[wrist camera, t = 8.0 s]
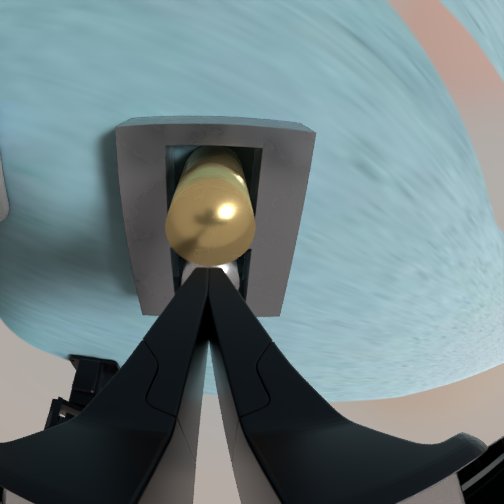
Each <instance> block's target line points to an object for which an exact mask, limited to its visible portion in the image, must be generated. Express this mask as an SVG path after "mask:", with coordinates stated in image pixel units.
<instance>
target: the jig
mask: <svg viewBox="0 0 504 504" xmlns="http://www.w3.org/2000/svg"><path fill="white" fill-rule="evenodd" d="M115 129H116V150H117V164H118V176H119V186H120V195H121V203H122V211H123V218H124V225H125V232H126V238H127V244H128V250H129V255H130V261H131V266H132V271H133V276H134V280H135V285H136V290H137V294H138V298H139V302H140V307H141V311H142V315H153V316H160V314H161V313H162V312H163V310H164V309H165V308H166V306H167V305H168V303H169V302H170V301H171V299H172V298H173V297H174V295H175V294H176V293H177V291H178V290H179V289H180V287H181V286H182V278H180V275H179V262H178V254H177V253H176V252H175V250H174V249H173V248H172V247H171V245H170V243H169V241H168V239H167V236H166V231H165V222H166V217H167V214H168V211H169V208H170V205H171V202H172V199H173V196H174V194H175V176H174V145H214V146H239V147H255V149H254V159H253V169H252V179H251V190H250V201H251V205H252V210H253V214H254V218H255V224H256V231H255V236H254V239H253V241H252V243H251V245H250V247H249V248H248V249H247V251H246V252H245V253H244V263H243V274H242V279H239V288H238V292H239V293H240V295H241V296H242V298H243V299H244V300H245V302H246V303H247V305H248V306H249V308H250V309H251V311H252V312H253V313H254V315H255V316H256V317H273V316H280V313H281V308H282V304H283V300H284V295H285V291H286V287H287V282H288V278H289V273H290V269H291V264H292V259H293V255H294V250H295V245H296V240H297V235H298V230H299V225H300V220H301V215H302V210H303V205H304V200H305V194H306V189H307V184H308V178H309V172H310V167H311V161H312V155H313V149H314V143H315V137H316V132H314V131H313V130H311V129H310V128H308V127H306V126H305V125H303V124H301V123H296V122H287V121H278V120H268V119H257V118H243V117H223V116H160V117H140V118H132V119H130V120H128V121H126V122H124V123H122V124H120V125H118V126H116V127H115Z"/></svg>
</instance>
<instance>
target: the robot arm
mask: <svg viewBox="0 0 504 504" xmlns="http://www.w3.org/2000/svg"><path fill="white" fill-rule="evenodd" d="M208 344H210V350H211V357H212V363H213V369H214V375H215V381H216V387H217V393H218V398H219V404H220V409H221V414H222V420H223V425H224V430H225V435H226V439H227V444H228V449H229V453H230V458H231V462H232V467H233V471H234V476H235V480H236V484H237V488H238V492H239V496H240V500H241V504H504V436H502V437H501V438H500V439H498V440H497V441H495V442H494V443H492V444H490V445H489V446H486V444H485V443H484V442H482V441H481V440H480V439H478V438H476V437H474V436H471V435H469V434H466V433H463V432H462V433H459V434H457V435H455V436H453V437H451V438H449V439H448V440H446V441H444V442H441V443H438V444H420V443H415V442H411V441H408V440H404V439H401V438H398V437H395V436H391V435H388V434H385V433H382V432H379V431H376V430H373V429H370V428H367V427H365V426H362V425H359V424H356V423H354V422H352V421H350V420H348V419H347V418H345V417H344V416H342V415H341V414H340V413H338V412H337V411H336V410H335V409H334V408H333V407H332V406H331V405H330V404H329V403H328V402H327V401H326V400H325V399H324V398H323V397H322V396H321V395H320V394H319V393H318V392H317V391H316V390H315V389H314V388H313V387H312V386H311V385H310V384H309V383H308V382H307V381H306V380H305V379H304V378H303V377H302V376H301V375H300V374H299V373H298V372H297V370H296V369H295V368H294V367H293V366H292V365H291V364H290V363H289V361H288V360H287V359H286V357H285V356H284V355H283V354H282V352H281V351H280V350H279V348H278V347H277V345H276V344H275V343H274V342H272V339H271V337H270V336H269V335H268V333H267V332H266V330H265V329H264V328H263V326H262V325H261V323H260V322H259V320H258V319H257V318H256V316H255V315H254V313H253V312H252V311H251V309H250V308H249V306H248V305H247V303H246V302H245V300H244V299H243V298H242V296H241V295H240V293H239V292H238V290H237V289H236V287H235V286H234V285H233V283H232V282H231V280H230V279H229V277H228V276H227V274H226V273H225V271H224V270H223V269H222V268H220V267H210V268H208V267H196V268H195V269H194V270H193V271H192V273H191V274H190V275H189V277H188V278H187V279H186V281H185V282H184V283H183V285H182V286H181V287H180V289H179V290H178V291H177V293H176V294H175V295H174V297H173V298H172V299H171V301H170V302H169V303H168V305H167V306H166V308H165V309H164V310H163V312H162V313H161V314H160V316H159V317H158V318H157V320H156V321H155V323H154V324H153V325H152V327H151V328H150V330H149V331H148V332H147V334H146V335H145V337H144V338H143V340H142V341H141V342H140V343H139V345H138V346H137V348H136V349H135V350H134V352H133V353H132V354H131V356H130V357H129V358H128V360H127V361H126V362H125V364H124V365H123V366H122V367H121V368H120V367H119V365H118V363H117V362H115V361H108V360H100V359H92V358H85V357H79V356H72V355H71V356H70V358H69V360H70V362H71V363H72V365H73V366H74V368H75V369H76V373H75V377H74V381H73V384H72V390H71V394H70V398H69V402H68V401H66V400H64V399H63V398H61V397H58V399H53V400H52V403H51V407H50V411H49V414H48V418H47V421H46V424H45V428H44V430H43V431H40V432H38V433H35V434H32V435H29V436H26V437H23V438H20V439H17V440H14V441H10V442H5V443H0V504H193V495H194V482H195V469H196V456H197V446H198V435H199V425H200V415H201V414H200V413H201V405H202V396H203V387H204V378H205V369H206V361H207V353H208ZM60 414H62V415H64V416H65V418H64V417H62V416H60Z"/></svg>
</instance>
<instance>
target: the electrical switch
mask: <svg viewBox="0 0 504 504" xmlns="http://www.w3.org/2000/svg"><path fill="white" fill-rule="evenodd" d="M8 213H9V202H8V197H7V193H6V187H5V182H4V176H3V170H2V163H1V155H0V222H1V221H2V220H4V219H5V218H6V217H7V215H8Z"/></svg>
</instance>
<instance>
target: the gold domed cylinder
mask: <svg viewBox="0 0 504 504" xmlns="http://www.w3.org/2000/svg"><path fill="white" fill-rule="evenodd" d="M165 231H166V236H167V239H168V241H169V243H170V245H171V247H172V248H173V249H174V250H175V252H176V253H177V254H179V255H180V256H181V257H182V258H184V259H186V260H187V261H189V262H192V263H195V264H198V265H203V266H218V265H223V264H227V263H229V262H232V261H234V260H236V259H237V258H239V257H240V256H241V255H242V254H244V253H245V252H246V251H247V249H248V248H249V247H250V245H251V243H252V241H253V239H254V236H255V231H256V224H255V218H254V214H253V210H252V205H251V201H250V197H249V193H248V189H247V185H246V181H245V176H244V172H243V168H242V164H241V161H240V159H239V158H238V156H237V155H236V154H235V153H234V152H233V151H232V150H231V149H229V148H227V147H225V146H214V145H205V146H202V147H200V148H198V149H196V150H195V151H194V152H193V153H192V154H191V155H190V156H189V158H188V159H187V161H186V164H185V166H184V169H183V172H182V174H181V177H180V180H179V182H178V185H177V188H176V191H175V194H174V196H173V199H172V202H171V205H170V208H169V211H168V214H167V217H166V222H165Z"/></svg>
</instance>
